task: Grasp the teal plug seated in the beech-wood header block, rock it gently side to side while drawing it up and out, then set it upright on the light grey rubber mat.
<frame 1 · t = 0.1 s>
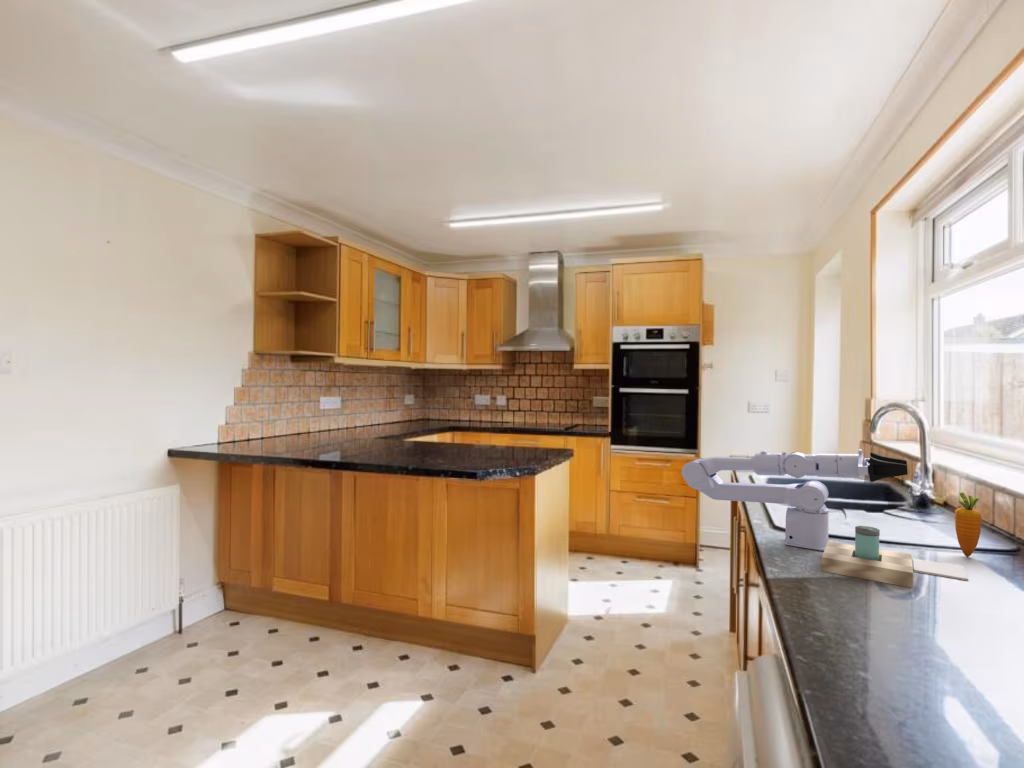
hand: (907, 467, 124), 22 cm above the countertop, tool horizontal, fingers open, 7 cm apart
header: (866, 569, 119), on the countertop
plug: (866, 549, 119), in the header
carrot: (967, 557, 128), on the countertop
mat: (939, 569, 119), on the countertop
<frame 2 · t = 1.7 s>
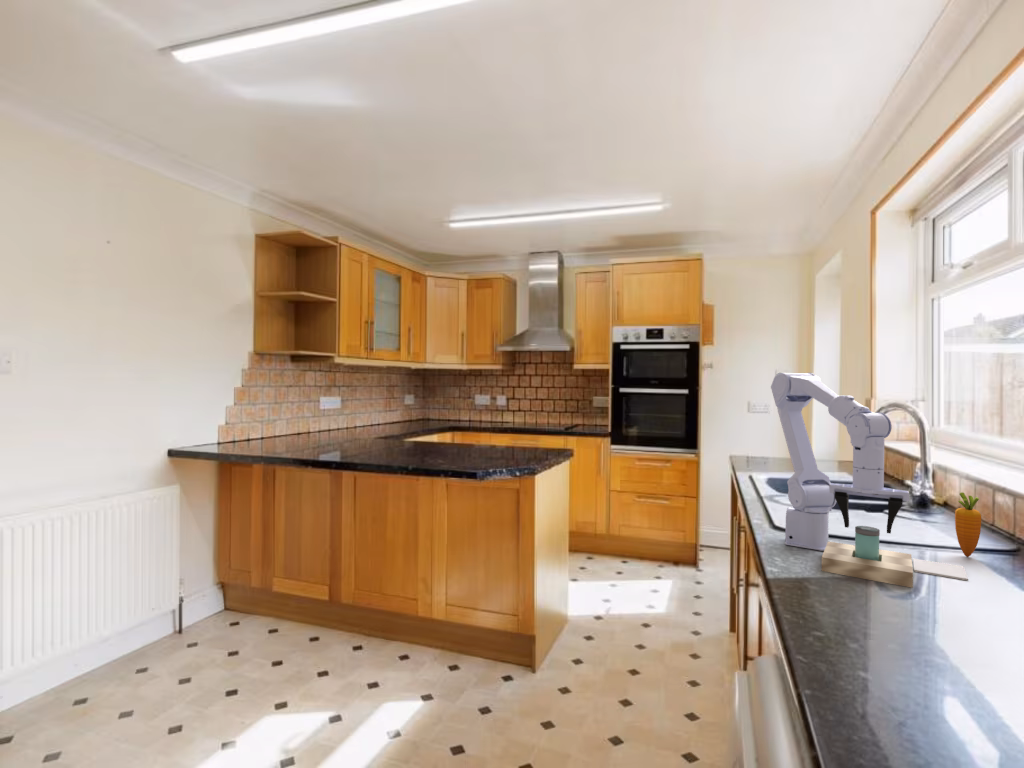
hand: (867, 529, 119), 9 cm above the countertop, tool pointing down, fingers open, 7 cm apart
nothing on the countertop moved.
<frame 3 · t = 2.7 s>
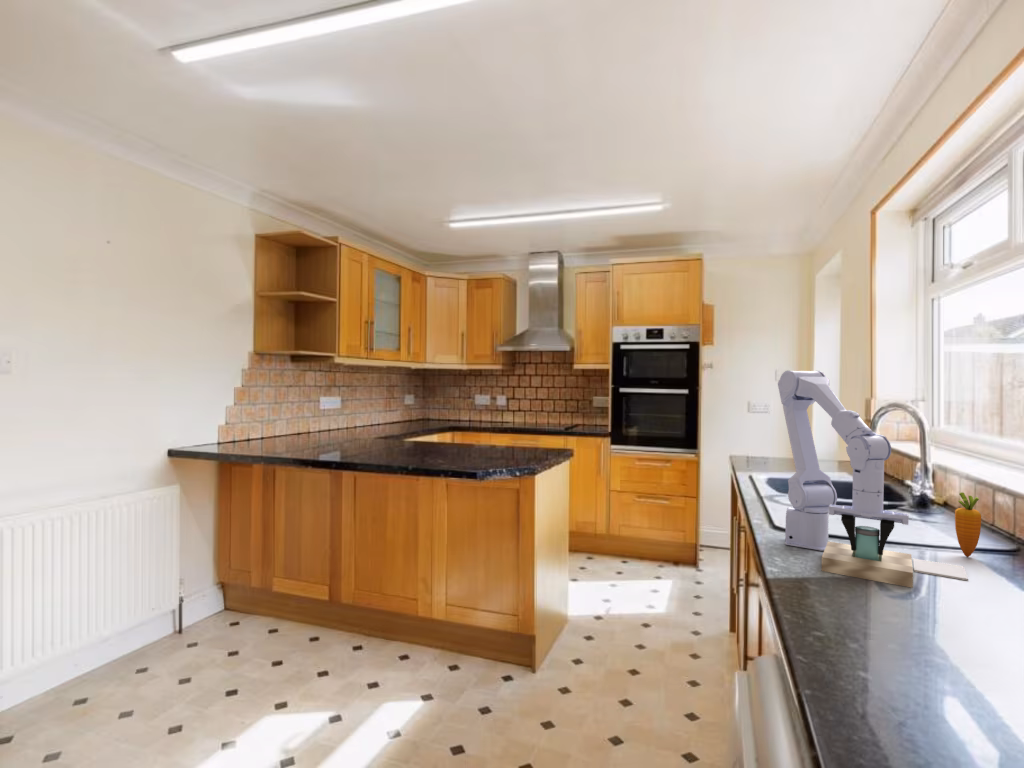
hand: (866, 551, 119), 4 cm above the countertop, tool pointing down, fingers closed on plug, 4 cm apart
plug: (866, 549, 119), in the header, touching gripper
everything else where it was.
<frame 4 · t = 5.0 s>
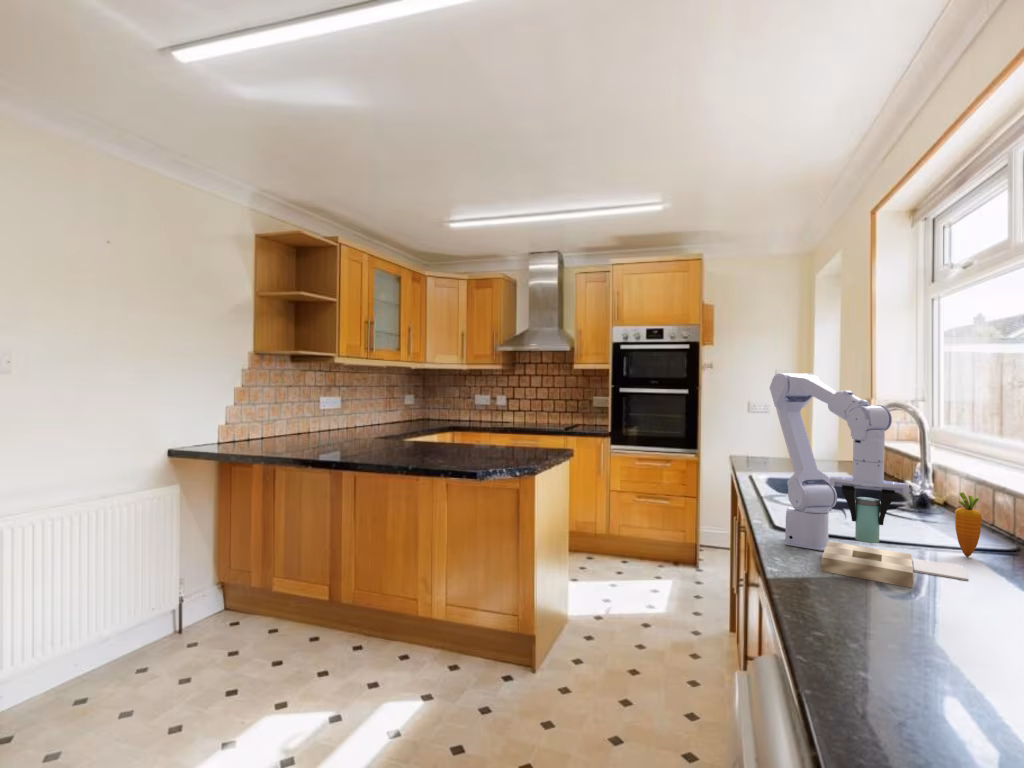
hand: (867, 522, 119), 10 cm above the countertop, tool pointing down, fingers closed on plug, 4 cm apart
plug: (867, 519, 119), point 11 cm above the countertop, touching gripper
everything else where it was.
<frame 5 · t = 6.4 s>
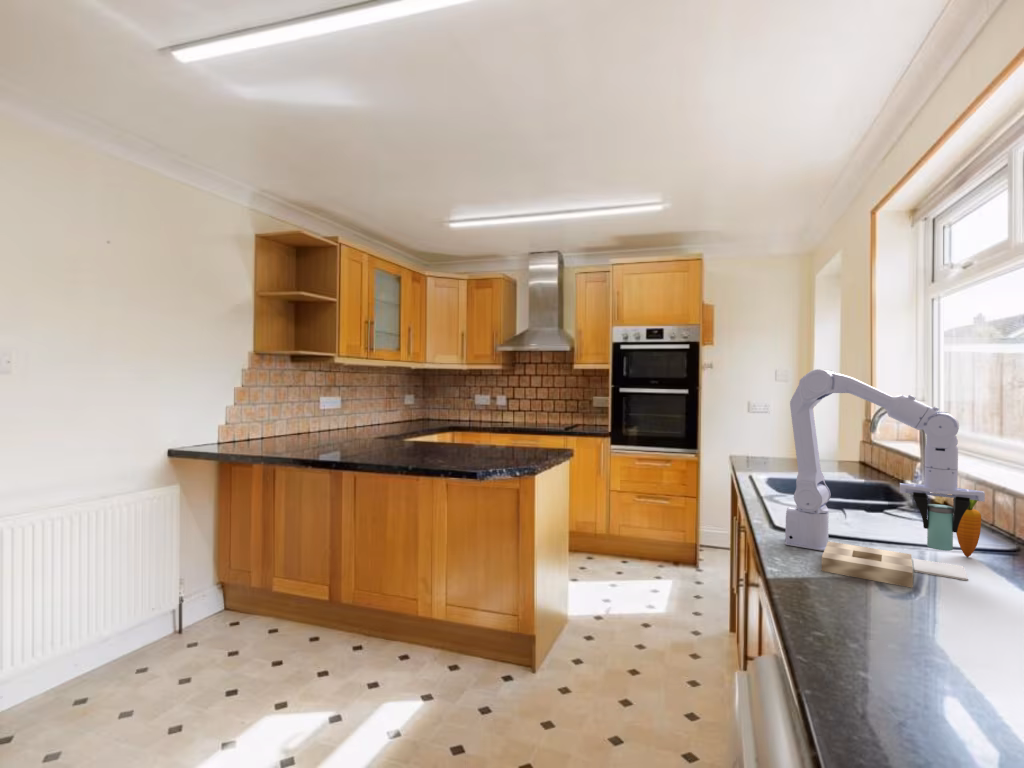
hand: (939, 529, 119), 9 cm above the countertop, tool pointing down, fingers closed on plug, 4 cm apart
plug: (940, 526, 119), point 10 cm above the countertop, touching gripper
everything else where it was.
when the fingers open (6 cm above the countertop, at t = 7.3 s): plug drops 2 cm, resting on mat.
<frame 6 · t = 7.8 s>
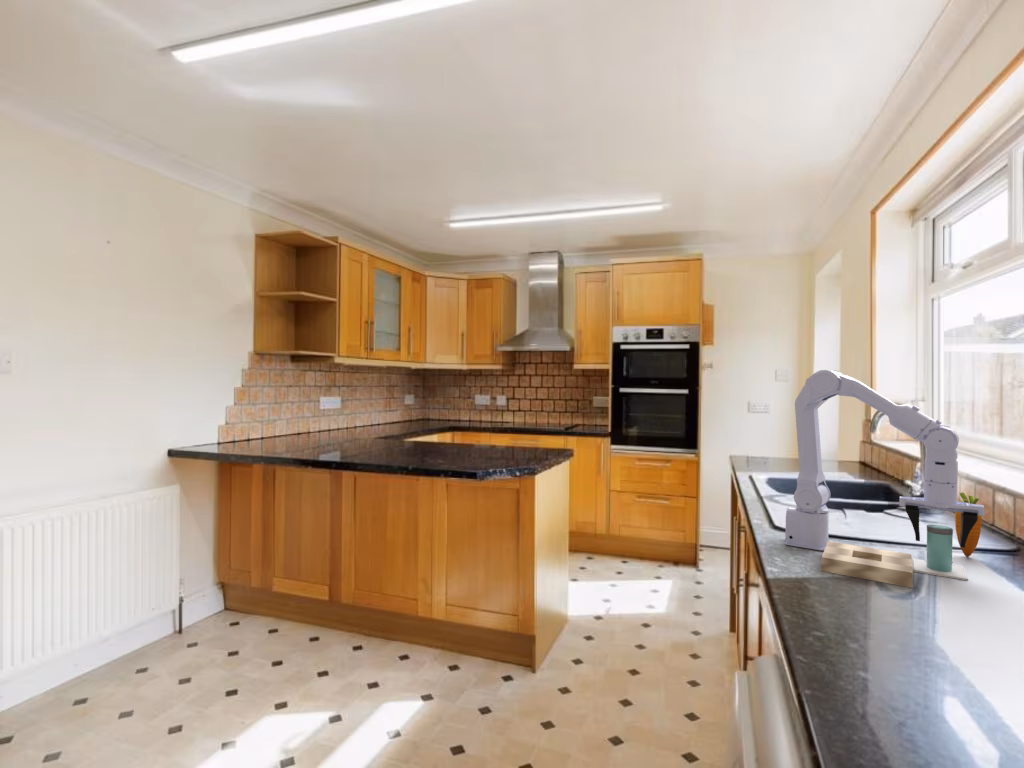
hand: (939, 543, 119), 6 cm above the countertop, tool pointing down, fingers open, 7 cm apart
plug: (939, 547, 119), on the mat
everything else where it was.
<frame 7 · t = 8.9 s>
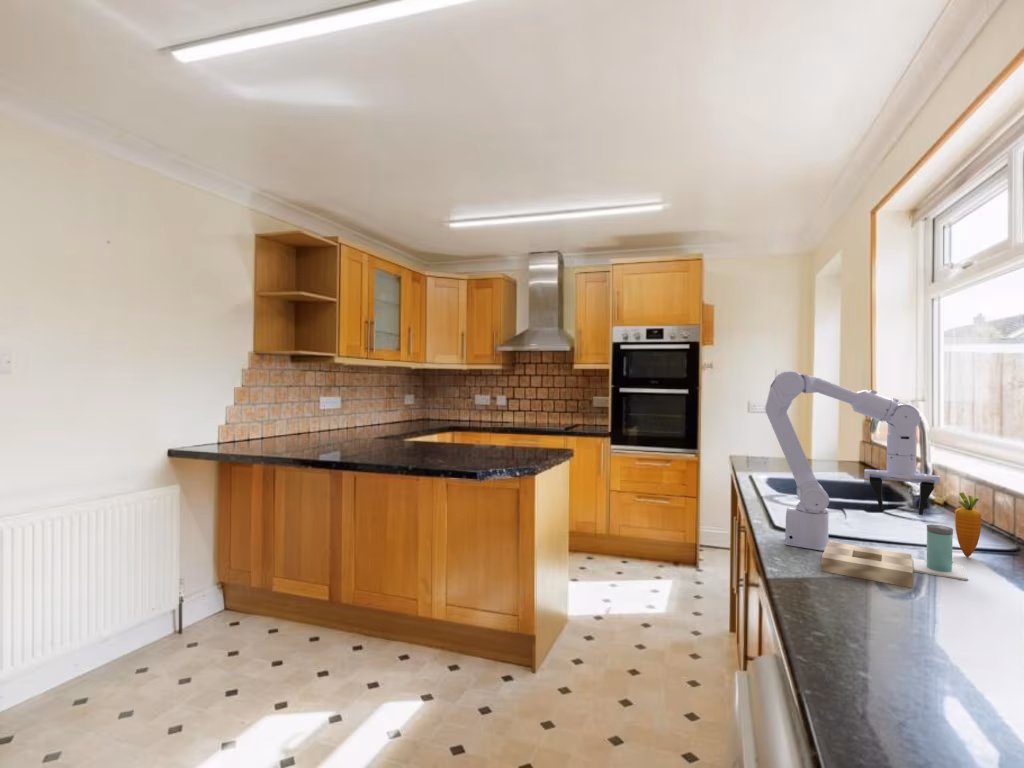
hand: (900, 511, 129), 10 cm above the countertop, tool pointing down, fingers open, 7 cm apart
nothing on the countertop moved.
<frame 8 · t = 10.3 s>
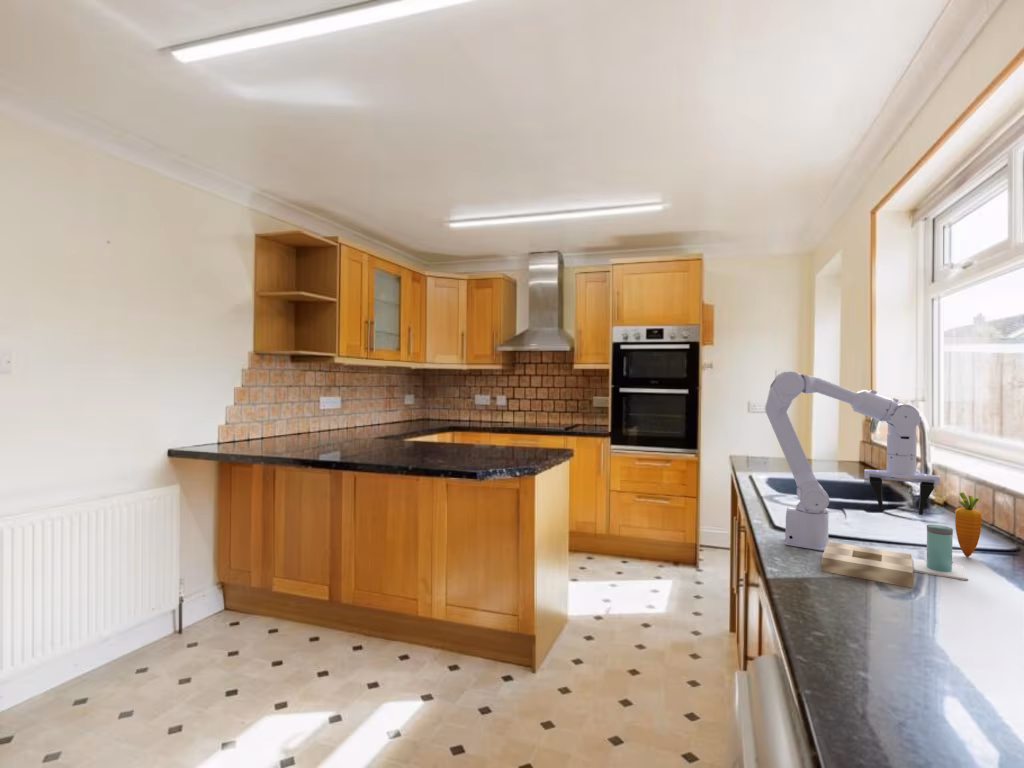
hand: (900, 511, 129), 10 cm above the countertop, tool pointing down, fingers open, 7 cm apart
nothing on the countertop moved.
at the end: plug inside the target area on the mat (0.2 cm from its centre), point 4.9 cm above the mat's base; plug tilted 0°; the gripper is holding nothing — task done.
